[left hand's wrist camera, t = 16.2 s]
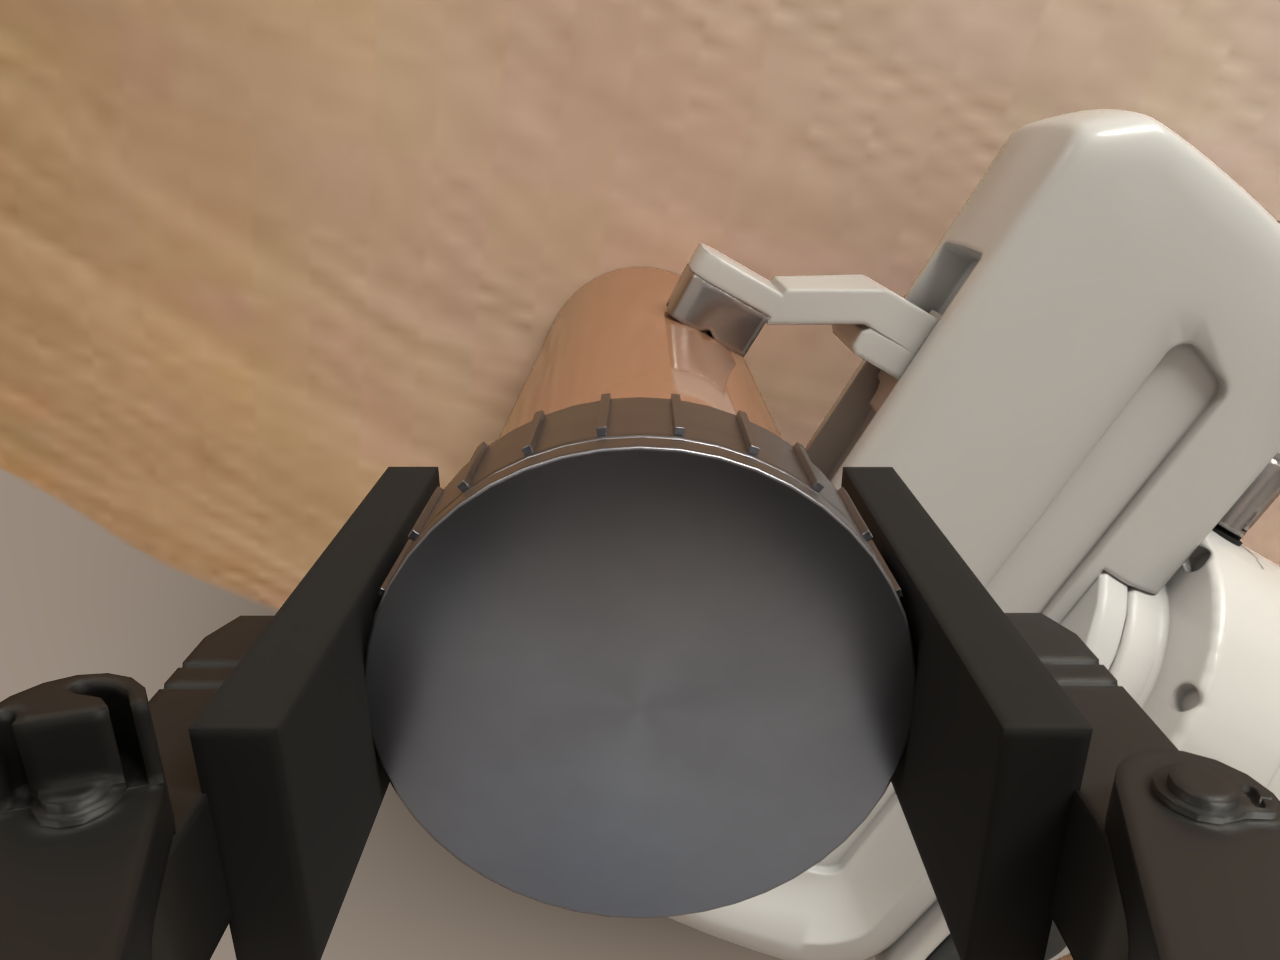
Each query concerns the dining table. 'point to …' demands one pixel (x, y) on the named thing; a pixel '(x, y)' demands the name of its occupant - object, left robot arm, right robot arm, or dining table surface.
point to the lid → (640, 661)
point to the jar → (634, 354)
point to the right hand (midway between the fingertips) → (602, 417)
